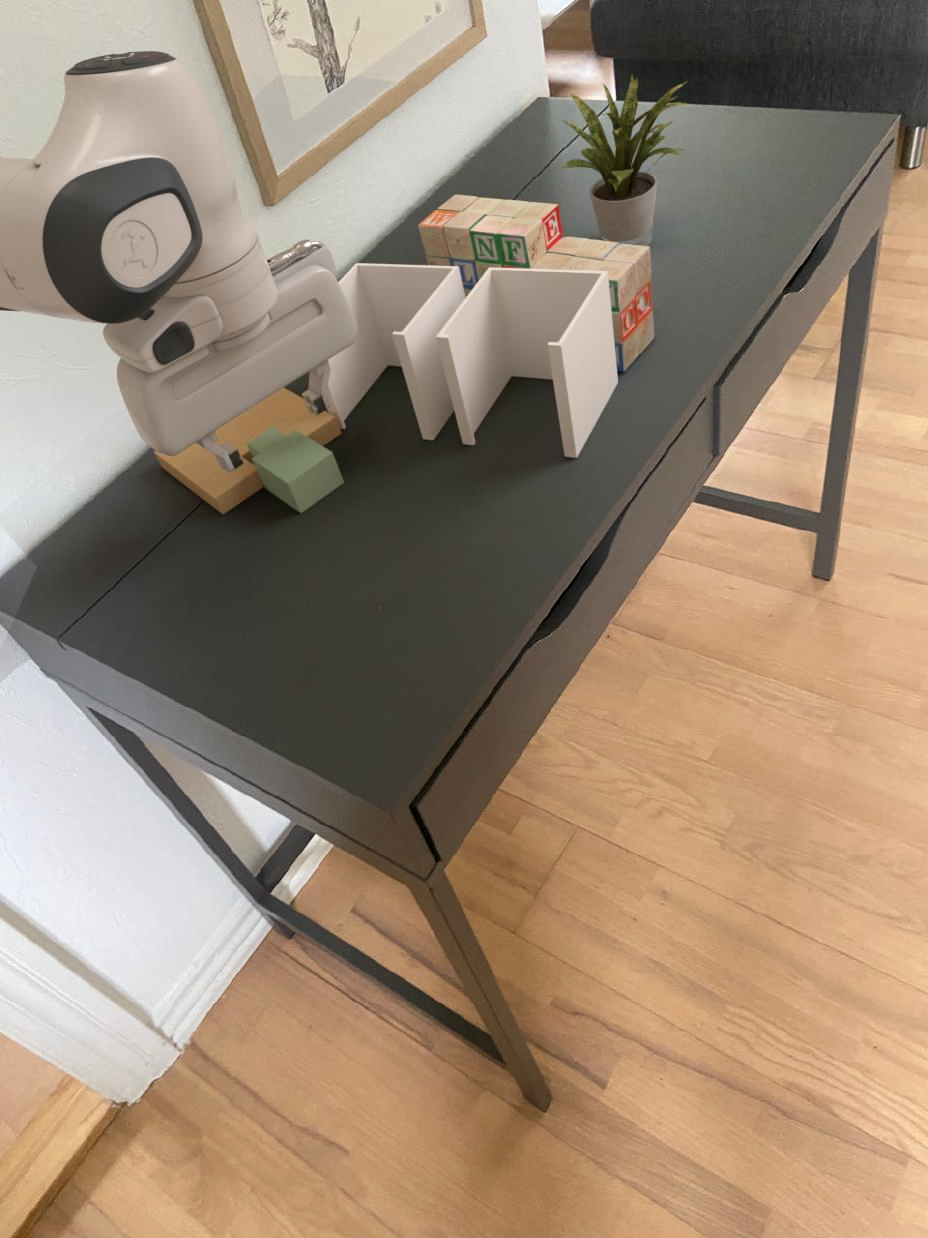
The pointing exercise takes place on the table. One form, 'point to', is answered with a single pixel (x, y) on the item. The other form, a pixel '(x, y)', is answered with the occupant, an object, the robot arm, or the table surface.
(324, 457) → the sage block
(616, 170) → the house plant
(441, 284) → the open dividers
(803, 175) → the table surface
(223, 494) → the sand pad
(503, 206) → the stack of blocks
